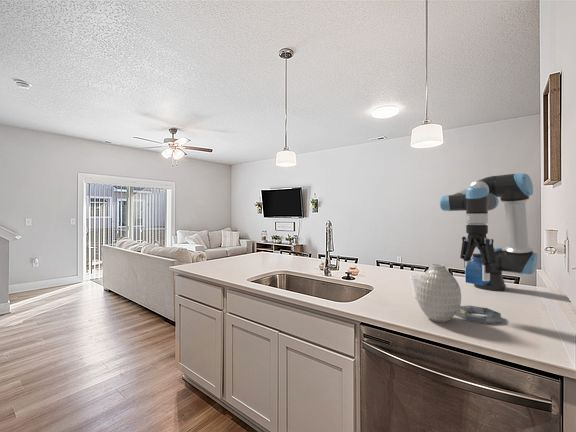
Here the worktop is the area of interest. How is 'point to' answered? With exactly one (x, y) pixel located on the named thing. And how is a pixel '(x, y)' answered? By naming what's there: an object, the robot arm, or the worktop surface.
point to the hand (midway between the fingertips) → (477, 278)
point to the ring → (491, 316)
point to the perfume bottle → (475, 271)
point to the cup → (415, 283)
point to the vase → (438, 294)
